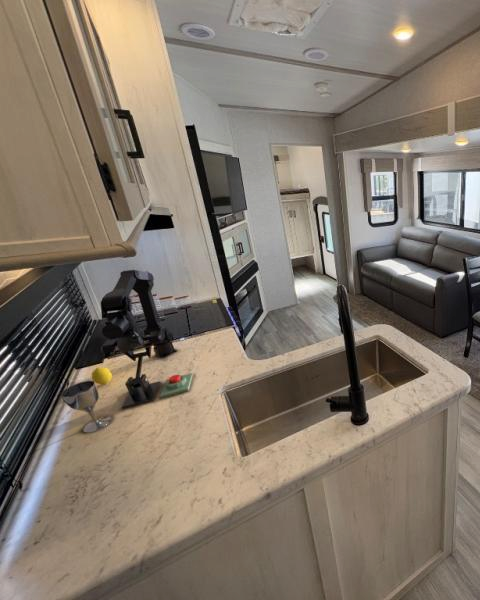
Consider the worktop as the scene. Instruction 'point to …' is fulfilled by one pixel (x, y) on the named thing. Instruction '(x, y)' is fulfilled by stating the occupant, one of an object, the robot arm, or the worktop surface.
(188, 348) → the worktop surface
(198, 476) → the worktop surface
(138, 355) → the lever
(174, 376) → the button
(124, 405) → the bracket
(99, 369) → the lemon
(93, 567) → the worktop surface
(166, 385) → the control block
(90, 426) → the wine glass
